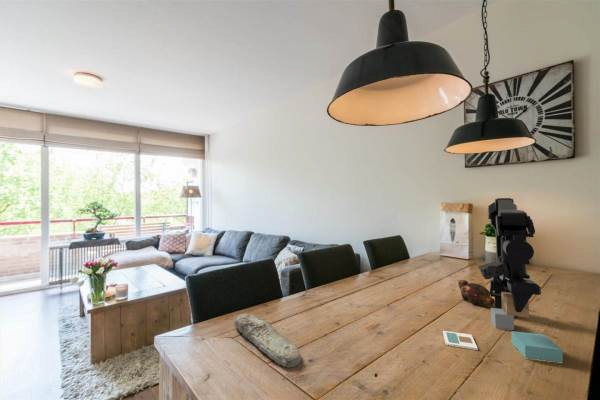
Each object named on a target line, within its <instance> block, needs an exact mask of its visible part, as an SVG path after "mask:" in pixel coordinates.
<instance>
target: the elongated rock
mask: <svg viewBox="0 0 600 400" xmlns="http://www.w3.org/2000/svg"><path fill="white" fill-rule="evenodd" d="M234 326H235V328H237V330H239V333H241V334H242V336H243V337H245V339H247V340H249V341H250V342H251V343H252V344H254V346H256V347H257V348H258V350H260V351H261V352H263V353H264V354H266V356H267V357H269V358H270V359H271V360H272V361H273V360H274V361H275V363H276V364H278V365H279V366H282V367H285V368H289V369H290V368H296V367H297V366H299V365H300V363H301V361H302V354H301V352H300V350H299V349H298V347H297V346H296V345H294V344H293V343H292V342H291V341H289V340H288V338H286V337H285V336H284V335H282V334H281V333H280V332H279V331H278V330H277V329H276V328H274V327H273V325H272V324H271V323H270V322H267V321H266V320H264V318H263V319H262V317H261V318H260V317H258V316H255V315H252V314H250V313H242V314H238V315H237V316H236V318H234ZM243 337H242V338H243ZM274 361H273V362H274Z"/></svg>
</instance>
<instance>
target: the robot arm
mask: <svg viewBox="0 0 600 400" xmlns="http://www.w3.org/2000/svg"><path fill="white" fill-rule="evenodd" d="M487 219H488V220H489V222H490V223H489V224H490V225H491V226H492V228H493V229H494V233H495V249H496V250H495V254H496V255H495V256H496V257H495V258H496V261H495V262H494V261H493V262H488V263H484V264H480V265H478V269H479V272H480V274H481V276H482V277H483V279H484V280H489V292H490V297H492V298H494V306H493V307H491V308H497V309H502V297H501V292H509V293H512V297H513V301H514V306H515V310H516V312H522V310H523V308H524V307H525V305H526V304H527V302H528V301H529V302H530V299H531V298H532V297H533V295H537V296H540V295H542V287H541V286H540V285H539V284H538V283H536V282H535V281H533V280H532V279H530V278H531V275H530V274H528V267H527V265H530V260H531V259H532V258H533V256H534V253H535V250H534V247H533V246H532V244H531V243H529V242H528V241H527V238H534V235H535V234H536V229H535V226H534V222H533V219H532V218H531V216H530V215H528V214H527V212H526V211H524V210H523V209H522V210H521V209H518V206H517V205H516V204H515V203H514V198H511V197H503V198H502V197H499V198H498V197H497V198H494V201H493V202H492V203H491V204H490V205H488V207H487ZM514 318H519V316H514Z"/></svg>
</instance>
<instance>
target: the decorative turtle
mask: <svg viewBox="0 0 600 400" xmlns="http://www.w3.org/2000/svg"><path fill="white" fill-rule="evenodd" d="M457 285H458V288H459V290H460V294H461V297H462V299H463V301H464V302H466V301H470V303H471V304H472V305H473V306H475V305H477V304H478V303H479V302H480V303H482V304H486V305H491V306H492V305H494V304H495V298H494V297H491V295H490V290H488V289H487V288H486V287H485V286H484V285H481V284H479V283H476V282H470V283H469V281H467V280H465V279H460V280H459V281H458V284H457Z"/></svg>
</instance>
